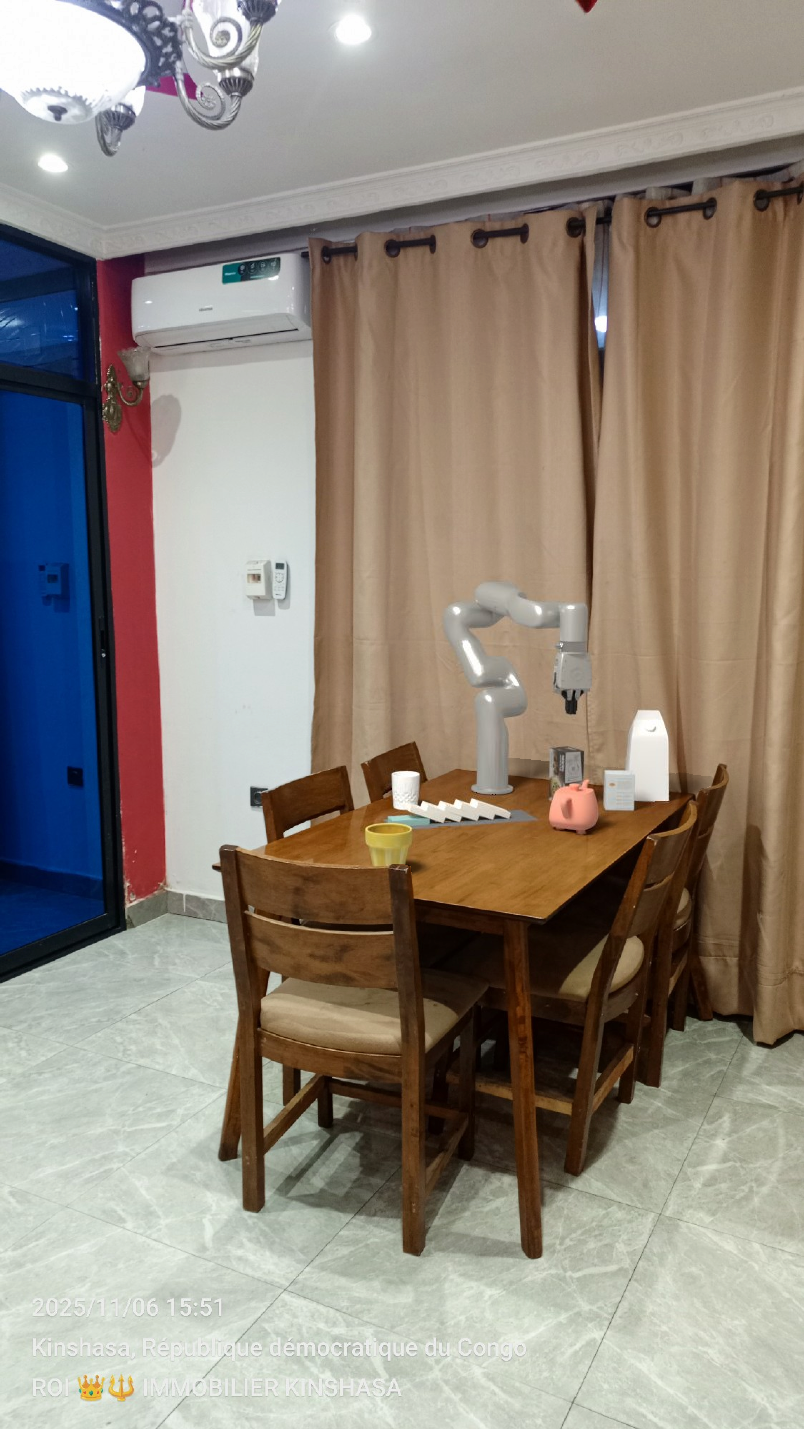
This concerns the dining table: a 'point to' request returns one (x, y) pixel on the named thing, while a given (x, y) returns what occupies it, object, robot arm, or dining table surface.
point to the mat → (514, 817)
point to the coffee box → (565, 768)
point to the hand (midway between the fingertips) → (571, 713)
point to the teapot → (574, 808)
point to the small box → (619, 790)
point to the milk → (649, 756)
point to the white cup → (405, 788)
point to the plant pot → (388, 843)
